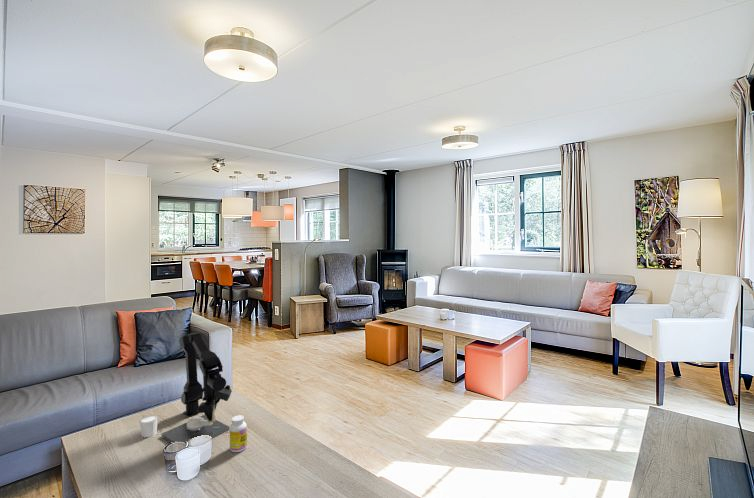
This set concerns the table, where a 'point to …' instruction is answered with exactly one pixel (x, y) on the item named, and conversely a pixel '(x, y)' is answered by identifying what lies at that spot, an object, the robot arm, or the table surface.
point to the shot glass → (148, 426)
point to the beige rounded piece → (199, 422)
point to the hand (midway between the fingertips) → (211, 418)
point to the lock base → (189, 435)
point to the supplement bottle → (238, 434)
